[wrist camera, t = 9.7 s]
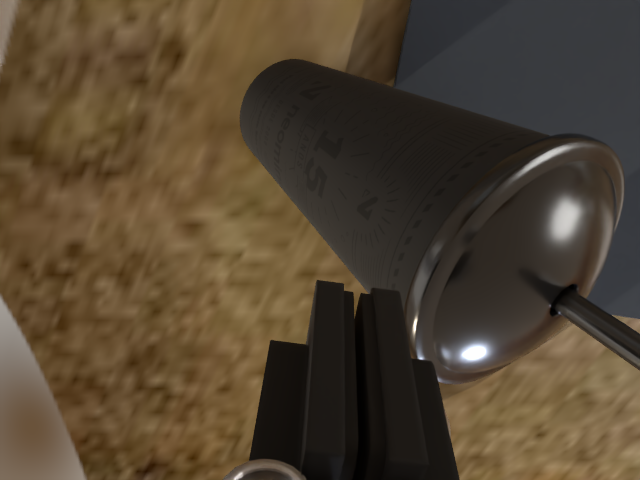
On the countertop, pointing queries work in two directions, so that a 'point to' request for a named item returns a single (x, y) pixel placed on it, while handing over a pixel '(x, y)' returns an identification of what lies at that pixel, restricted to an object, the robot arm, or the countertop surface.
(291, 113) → the drinking cup
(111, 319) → the countertop surface
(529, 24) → the mat
